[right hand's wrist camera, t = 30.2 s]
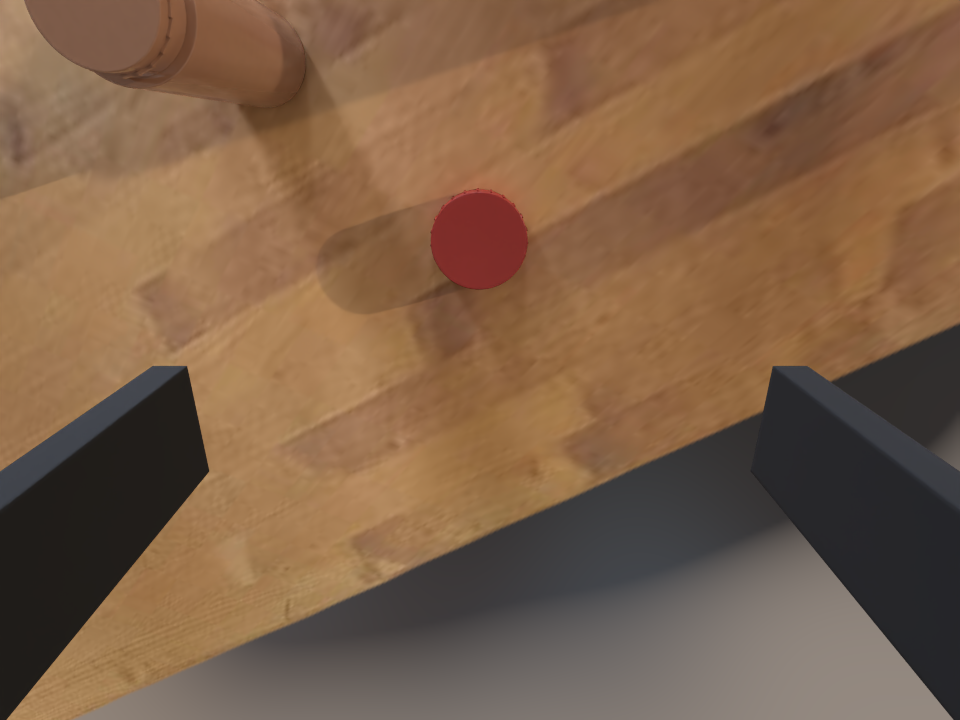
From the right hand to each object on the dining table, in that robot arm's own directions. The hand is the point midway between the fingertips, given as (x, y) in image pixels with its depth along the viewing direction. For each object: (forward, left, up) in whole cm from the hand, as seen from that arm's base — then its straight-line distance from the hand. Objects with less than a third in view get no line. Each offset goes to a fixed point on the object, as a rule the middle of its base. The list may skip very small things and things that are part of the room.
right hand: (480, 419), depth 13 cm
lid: (0, 0, -25) cm, 25 cm away
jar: (-13, -11, -27) cm, 32 cm away
